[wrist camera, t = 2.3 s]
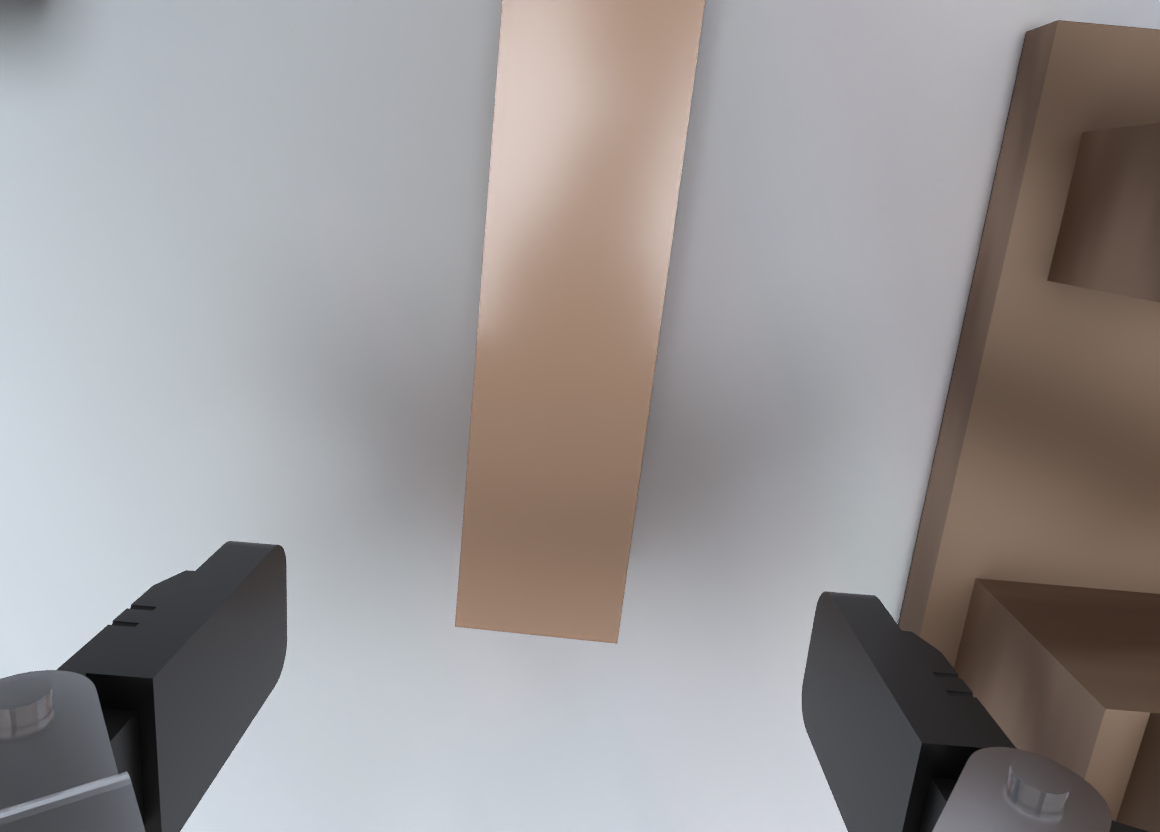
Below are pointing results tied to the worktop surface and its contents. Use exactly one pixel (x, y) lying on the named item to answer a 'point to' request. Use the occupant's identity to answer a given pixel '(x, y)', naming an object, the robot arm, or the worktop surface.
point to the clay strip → (571, 306)
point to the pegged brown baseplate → (1060, 427)
